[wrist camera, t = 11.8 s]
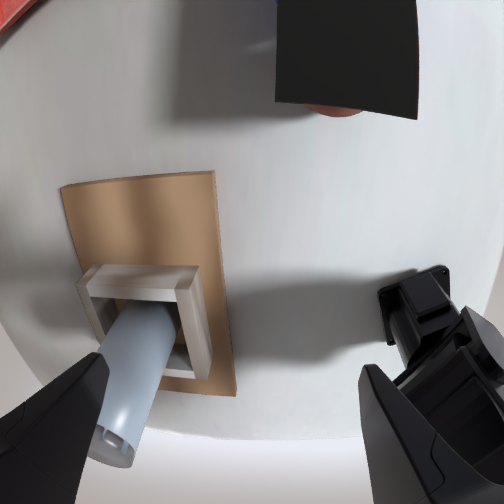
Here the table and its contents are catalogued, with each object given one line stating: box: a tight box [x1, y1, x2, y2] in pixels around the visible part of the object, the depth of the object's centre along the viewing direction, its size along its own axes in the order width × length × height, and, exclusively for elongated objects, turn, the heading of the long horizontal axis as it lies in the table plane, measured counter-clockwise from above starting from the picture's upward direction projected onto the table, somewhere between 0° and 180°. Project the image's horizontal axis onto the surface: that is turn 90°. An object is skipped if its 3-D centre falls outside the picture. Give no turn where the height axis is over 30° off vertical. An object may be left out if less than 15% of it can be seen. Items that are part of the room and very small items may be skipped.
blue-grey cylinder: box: [87, 299, 182, 468], centre depth 18 cm, size 5×5×13 cm
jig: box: [61, 171, 237, 397], centre depth 23 cm, size 12×22×4 cm, turn 2°
